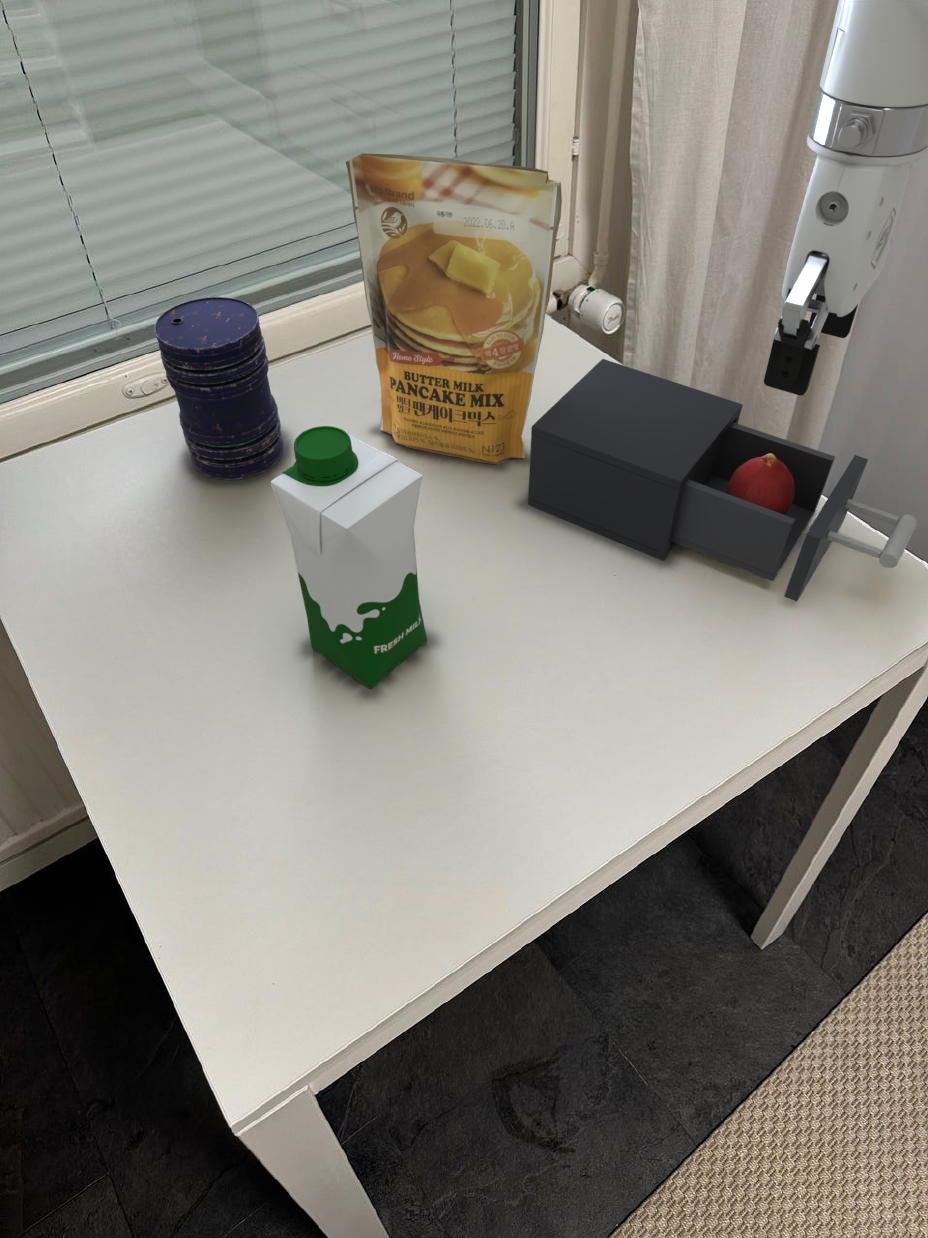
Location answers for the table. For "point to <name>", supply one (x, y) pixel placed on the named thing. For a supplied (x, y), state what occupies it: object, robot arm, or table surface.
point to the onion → (764, 483)
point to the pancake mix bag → (455, 296)
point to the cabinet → (624, 453)
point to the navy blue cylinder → (221, 386)
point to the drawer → (768, 535)
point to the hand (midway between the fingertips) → (806, 359)
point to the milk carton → (354, 550)
